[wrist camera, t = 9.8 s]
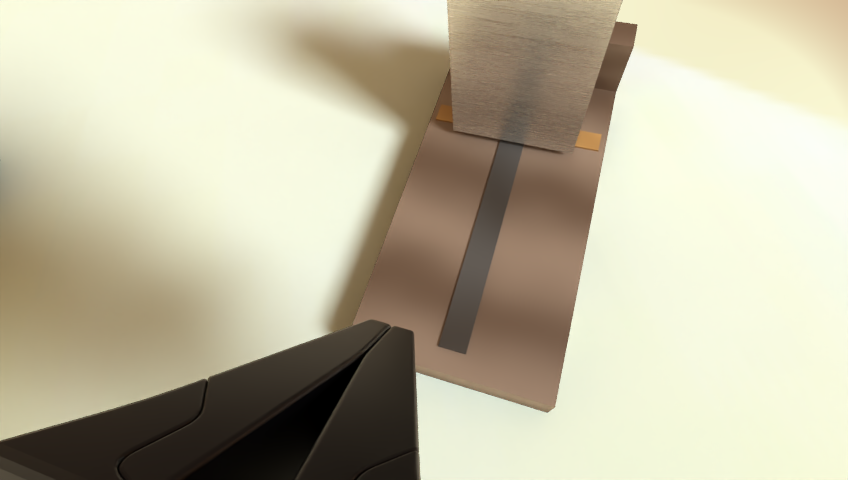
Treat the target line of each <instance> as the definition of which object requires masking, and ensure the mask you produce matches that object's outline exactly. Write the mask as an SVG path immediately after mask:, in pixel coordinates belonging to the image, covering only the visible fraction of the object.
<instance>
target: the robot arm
mask: <svg viewBox="0 0 848 480" xmlns="http://www.w3.org/2000/svg"><path fill="white" fill-rule="evenodd" d="M0 480H421V479H420V460H419V441H418V417H417V392H416V367H415V342H414V332H413V331H411V330H408V329H404V328H401V327H397V326H393V327H391V326H390V325H389V324H387V323H384V322H380V321H377V320H373V319H370V320H367V321H364V322H361V323H358V324H355V325H353V326H350V327H347V328H344V329H342V330H339V331H336V332H333V333H330V334H328V335H325V336H322V337H319V338H317V339H314V340H311V341H308V342H305V343H303V344H300V345H297V346H294V347H292V348H289V349H286V350H283V351H280V352H278V353H275V354H272V355H269V356H267V357H264V358H261V359H258V360H255V361H253V362H250V363H247V364H244V365H241V366H239V367H236V368H233V369H230V370H227V371H225V372H222V373H219V374H216V375H214V376H211V377H209V378H208V382H207V380H206V379H202V380H199V381H197V382H194V383H191V384H188V385H185V386H183V387H180V388H177V389H174V390H171V391H168V392H165V393H162V394H159V395H156V396H153V397H150V398H147V399H144V400H141V401H137V402H134V403H131V404H127V405H124V406H121V407H117V408H114V409H111V410H107V411H104V412H100V413H97V414H93V415H90V416H86V417H83V418H79V419H76V420H72V421H68V422H65V423H61V424H58V425H54V426H51V427H47V428H44V429H40V430H37V431H33V432H30V433H26V434H23V435H19V436H15V437H12V438H8V439H5V440H1V441H0Z"/></svg>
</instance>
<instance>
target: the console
mask: <svg viewBox="0 0 848 480" xmlns="http://www.w3.org/2000/svg"><path fill="white" fill-rule="evenodd" d="M636 30H637V24H630V23H622V22H615V25H614V28H613V31H612V34H611V37H610V40H609V44H608V47H607V50H606V53H605V56H604V59H603V62H602V65H601V68H600V71H599V74H598V77H597V80H596V83H595V86H594V89H593V92H592V95H591V99H590V102H589V105H588V108H587V111H586V114H585V117H584V120H583V123H582V126H581V129H580V132H579V135H578V138H577V141H576V144H575V147H574V151H573V154H571V153H566V152H561V151H555V150H550V149H545V148H540V147H535V146H530V145H525V144H520V143H515V142H510V141H505V140H500V139H495V138H490V137H485V136H480V135H475V134H470V133H465V132H460V131H455V130H453V113H452V92H451V71H450V69H449V72H448V75H447V77H446V80H445V83H444V85H443V88H442V90H441V93H440V96H439V98H438V101H437V104H436V106H435V109H434V111H433V114H432V117H431V119H430V122H429V125H428V127H427V130H426V133H425V135H424V138H423V140H422V143H421V146H420V148H419V151H418V154H417V156H416V159H415V161H414V164H413V167H412V169H411V172H410V175H409V177H408V180H407V183H406V185H405V188H404V190H403V193H402V196H401V198H400V201H399V204H398V206H397V209H396V211H395V214H394V217H393V219H392V222H391V225H390V227H389V230H388V232H387V235H386V238H385V240H384V243H383V246H382V248H381V251H380V254H379V256H378V259H377V261H376V264H375V267H374V269H373V272H372V275H371V277H370V280H369V282H368V285H367V288H366V290H365V293H364V296H363V298H362V301H361V303H360V306H359V309H358V311H357V314H356V317H355V319H354V322H353V325H355V324H358V323H361V322H364V321H367V320H370V319H373V320H377V321H380V322H384V323H387V324H389V325H390V326H391V327H393V326H397V327H401V328H404V329H408V330H411V331H413V332H414V342H415V367H416V372H418V373H421V374H424V375H427V376H431V377H434V378H437V379H440V380H444V381H447V382H450V383H453V384H457V385H460V386H463V387H466V388H469V389H473V390H476V391H479V392H482V393H486V394H489V395H492V396H495V397H499V398H502V399H505V400H508V401H512V402H515V403H518V404H521V405H524V406H528V407H531V408H534V409H537V410H541V411H544V412H547V413H548V412H549V411H550V410H552V409H553V408H555V404H556V399H557V394H558V388H559V383H560V378H561V373H562V368H563V363H564V357H565V352H566V347H567V342H568V337H569V332H570V326H571V321H572V316H573V311H574V306H575V301H576V295H577V290H578V285H579V280H580V275H581V270H582V265H583V259H584V254H585V249H586V244H587V239H588V234H589V228H590V223H591V218H592V213H593V208H594V203H595V197H596V192H597V187H598V182H599V177H600V172H601V166H602V161H603V156H604V151H605V146H606V141H607V135H608V130H609V125H610V120H611V115H612V110H613V104H614V99H615V94H616V90H617V88H618V85H619V83H620V80H621V78H622V75H623V72H624V70H625V67H626V65H627V62H628V60H629V57H630V54H631V52H632V49H633V46H634V41H635V36H636ZM353 325H352V326H353Z"/></svg>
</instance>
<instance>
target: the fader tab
mask: <svg viewBox="0 0 848 480" xmlns="http://www.w3.org/2000/svg"><path fill="white" fill-rule="evenodd" d="M622 1H623V0H447V9H448V30H449V50H450V71H451V92H452V113H453V130H455V131H460V132H465V133H470V134H475V135H480V136H485V137H490V138H495V139H500V140H505V141H510V142H515V143H520V144H525V145H530V146H535V147H540V148H545V149H550V150H555V151H561V152H566V153H571V154H573V151H574V147H575V144H576V141H577V138H578V135H579V132H580V129H581V126H582V123H583V120H584V117H585V114H586V111H587V108H588V105H589V102H590V99H591V95H592V92H593V89H594V86H595V83H596V80H597V77H598V74H599V71H600V68H601V65H602V62H603V59H604V56H605V53H606V50H607V47H608V44H609V40H610V37H611V34H612V31H613V28H614V25H615V22H616V19H617V16H618V13H619V10H620V7H621V4H622Z"/></svg>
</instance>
